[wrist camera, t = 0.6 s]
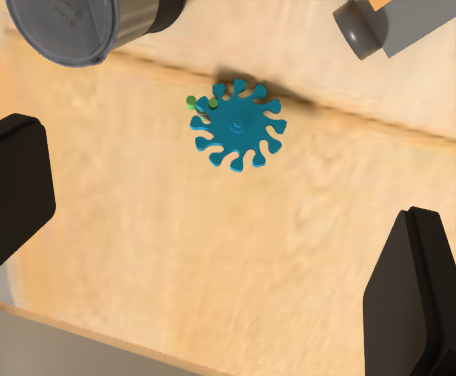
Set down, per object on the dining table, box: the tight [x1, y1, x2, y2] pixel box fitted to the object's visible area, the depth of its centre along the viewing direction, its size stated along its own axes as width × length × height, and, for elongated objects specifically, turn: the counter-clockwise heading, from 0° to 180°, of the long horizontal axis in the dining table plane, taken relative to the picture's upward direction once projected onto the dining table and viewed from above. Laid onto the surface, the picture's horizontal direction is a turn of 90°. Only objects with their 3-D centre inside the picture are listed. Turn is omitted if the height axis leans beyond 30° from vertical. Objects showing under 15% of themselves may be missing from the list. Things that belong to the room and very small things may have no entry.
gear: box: [186, 79, 287, 172], centre depth 44 cm, size 11×6×10 cm
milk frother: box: [5, 0, 185, 68], centre depth 37 cm, size 14×16×15 cm
